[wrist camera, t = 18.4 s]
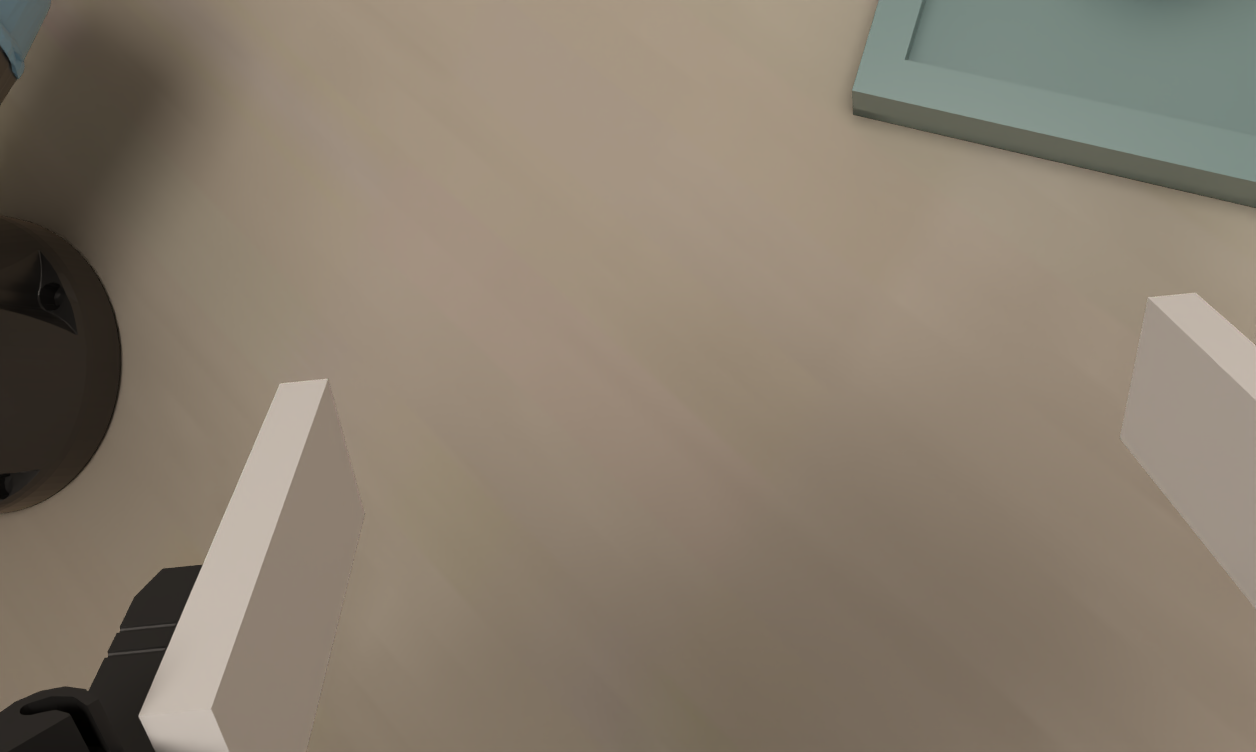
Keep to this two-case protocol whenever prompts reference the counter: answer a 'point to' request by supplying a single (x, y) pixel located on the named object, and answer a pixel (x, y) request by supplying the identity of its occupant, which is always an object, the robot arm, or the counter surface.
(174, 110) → the counter surface
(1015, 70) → the tray
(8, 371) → the robot arm
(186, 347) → the counter surface
